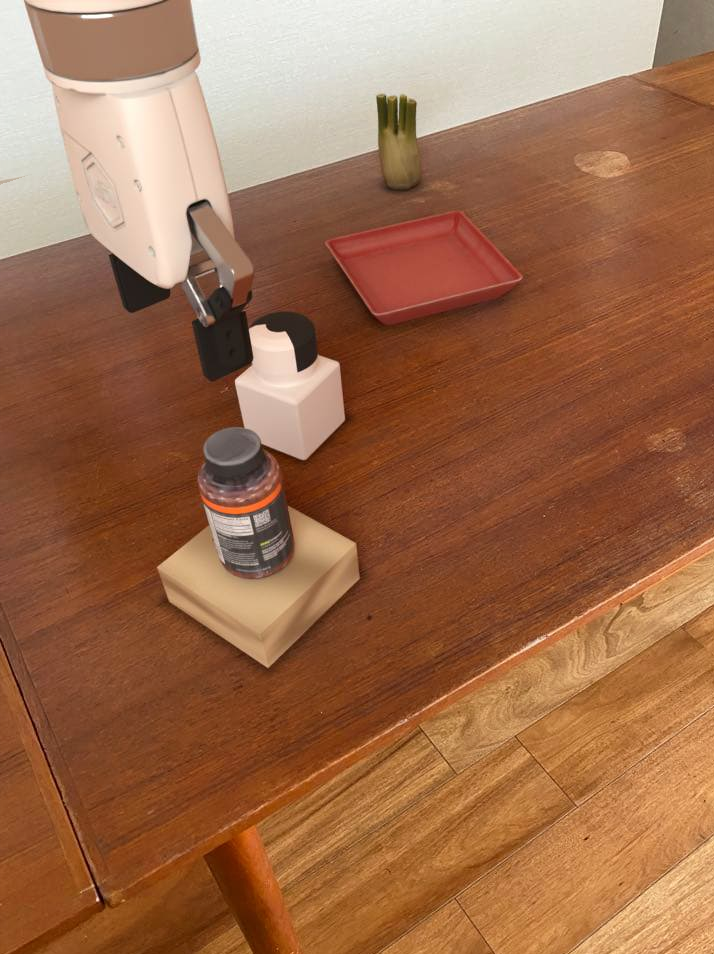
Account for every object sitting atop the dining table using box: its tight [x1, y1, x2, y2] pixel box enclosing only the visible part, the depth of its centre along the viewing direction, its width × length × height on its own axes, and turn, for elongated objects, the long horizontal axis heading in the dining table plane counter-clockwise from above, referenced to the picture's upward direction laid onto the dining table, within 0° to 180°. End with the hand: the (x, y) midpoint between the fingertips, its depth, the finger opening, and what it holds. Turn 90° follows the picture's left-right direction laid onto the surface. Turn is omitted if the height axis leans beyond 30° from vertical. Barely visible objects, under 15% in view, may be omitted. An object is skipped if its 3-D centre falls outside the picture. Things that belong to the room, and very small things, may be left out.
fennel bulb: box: [375, 93, 422, 192], centre depth 116 cm, size 6×5×12 cm
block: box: [156, 505, 361, 669], centre depth 69 cm, size 11×11×4 cm
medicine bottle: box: [234, 310, 346, 461], centre depth 80 cm, size 7×7×12 cm
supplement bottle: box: [197, 426, 294, 579], centre depth 63 cm, size 6×6×11 cm
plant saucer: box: [324, 210, 523, 326], centre depth 102 cm, size 18×18×3 cm
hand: (187, 335), depth 54 cm, fingers open, 9 cm apart
